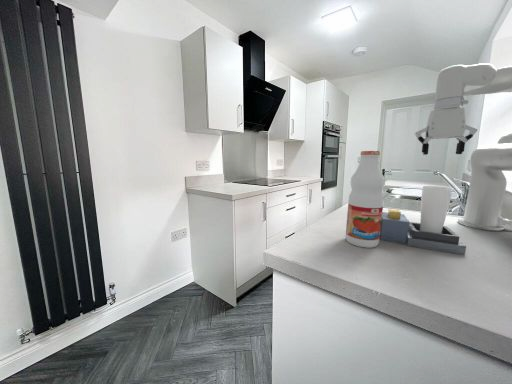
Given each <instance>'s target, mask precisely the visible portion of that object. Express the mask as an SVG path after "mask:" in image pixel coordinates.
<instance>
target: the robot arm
mask: <svg viewBox="0 0 512 384" xmlns="http://www.w3.org/2000/svg"><path fill="white" fill-rule="evenodd" d="M500 93H512V65H509V66H504V67H500V68H496V67H495V66H494V65H493V64H490V63H478V64H471V65H464V64H457V65H456V64H455V65H451V66H448V67H444V68H443V69H441V70H440V71H439V72H438V74H437V80H436V89H435V95H434V96H435V97H434V105H433V110H430V111H429V116H428V119H427V123H426V127H425V128H424V127H423V128H422V129H419V130H418V131H416V132H414V135H415V137H416V139H417V141H419V142H420V143H421V145H422V147H421V153H422V155H423V156H425V155H426V156H427V155H428V154H429V149H430V148H429V147H430V144H429V142H430V141H431V140H433V139H435V140H436V139H437V140H438V139H439V140H440V139H454V138H455V139H456V140H457V141H458V142H457V143H456V150H455V154H456V155H462V154H463V153H464V152H465V145H466V143H467V142H468V141H469V140H470V139H472V138H473V137H474V135H475V134H476V133H477V132H478V128H475V127H472V126H470V125H466V109H465V107H463V106H464V105H468V104H469V99H465V98H464V97H469V96H471V97H472V96H478V95H490V94H500ZM465 131H466V132H468V134H466V136H464V135H465ZM423 133H425V134H424V137H425V138H424V137H423V136H422V134H423ZM470 167H471V169H470V172H471V174H470V181H469V187H468V193H467V198H466V203H465V204H466V205H465V210H464V216H463V218H458V220H457V223H458V224H461V225H462V226H466V227H469V228H475V229H479V230H485V231H486V230H487V231H495V232H496V231H498V232H499V231H503V230H505V225H509V226H512V219H509V218H504V217H503V216H501V214H502V208H503V203H504V199H505V194H506V190H507V189H506V188H507V183H508V182H507V178H506V176H505V175H504V174H505V173H504V172H512V129H511V130H509V131H508V132H506V133H504V135H502V136H501V137H500V138H499V139H498V141H497V143H493V144H485V145H482V146H479V147H477V148H476V149H475V150H473V151H472V153H471V155H470ZM503 171H504V172H503Z"/></svg>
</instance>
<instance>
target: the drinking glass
mask: <svg viewBox="0 0 512 384" xmlns="http://www.w3.org/2000/svg"><path fill="white" fill-rule="evenodd" d="M451 200H452V187H447V186H439V185H437V186H436V185H425V186H422V191H421V198H420V222H419V223H420V231H425V232H432V233H440V234H442V229H443V226H445V225H444V224H445V221H446V217H447V214H448V210H449V206H450V203H451Z"/></svg>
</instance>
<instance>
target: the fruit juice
mask: <svg viewBox="0 0 512 384" xmlns="http://www.w3.org/2000/svg"><path fill="white" fill-rule="evenodd" d="M380 154H381V152H380V151H379V150H362V151H360V157H361V159H360V162H359V164H358V166H357V168H356V170H355V172H354V173H353V174H352V176H351V178H350V186H351V187H350V188H351V191H350V193H349V196H348V202H347V204H348V205H347V214H346V215H347V216H346V226H345V241H346V242H347V243H349V244H350V245H354V246H356V247H360V248H368V249H370V248H372V249H373V248H376V247H378V245H379V243H380V229H381V220H382V212H383V210H384V195H383V190H384V188H385V185H386V179H385V176H384V174H383V172H382V170H381V167H380V164H379V158H380Z"/></svg>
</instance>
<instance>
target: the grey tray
mask: <svg viewBox="0 0 512 384" xmlns="http://www.w3.org/2000/svg"><path fill="white" fill-rule="evenodd" d="M460 237H461V236H459V235H458V234H456V232H454V231H452V229H450V228H449V227H448V226H445V225H443V229H442V234H440V233H432V232H425V231H420V222H414V221H413V222H411V221H409V219H408V218H407V217H406V215H405V214H403V213H402V212H401V211H400V210H399V209H393V208H388V211H387V212H385V211H384V212H383V211H382V220H381V229H380V238H379V241H380V240H381V241H386V242H393V243H397V244H405V245H407V247H414V248H419V249H426V250H432V251H439V252H443V253H444V252H445V253H449V254H457V255H462V256H465V255H466V250H467V245H466V244H464V243H463V242H462V241H461V240H460Z"/></svg>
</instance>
